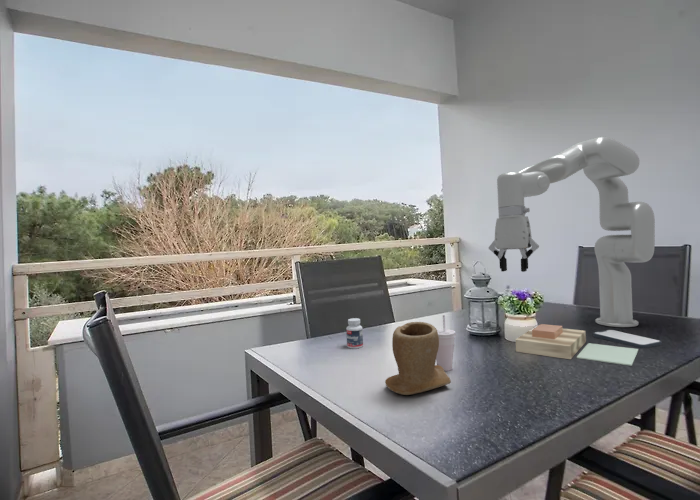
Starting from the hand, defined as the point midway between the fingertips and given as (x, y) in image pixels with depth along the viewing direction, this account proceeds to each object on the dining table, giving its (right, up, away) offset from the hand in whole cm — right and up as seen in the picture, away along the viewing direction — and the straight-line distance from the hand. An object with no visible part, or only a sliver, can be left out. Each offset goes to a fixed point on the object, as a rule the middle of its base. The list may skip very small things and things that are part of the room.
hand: (513, 270), depth 121 cm
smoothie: (-27, -24, -20) cm, 41 cm away
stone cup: (-35, -25, -33) cm, 54 cm away
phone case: (+33, -22, -3) cm, 39 cm away
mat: (+19, -22, -15) cm, 33 cm away
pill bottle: (-49, -25, +5) cm, 56 cm away
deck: (+9, -22, -6) cm, 25 cm away
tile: (+8, -19, -6) cm, 21 cm away
